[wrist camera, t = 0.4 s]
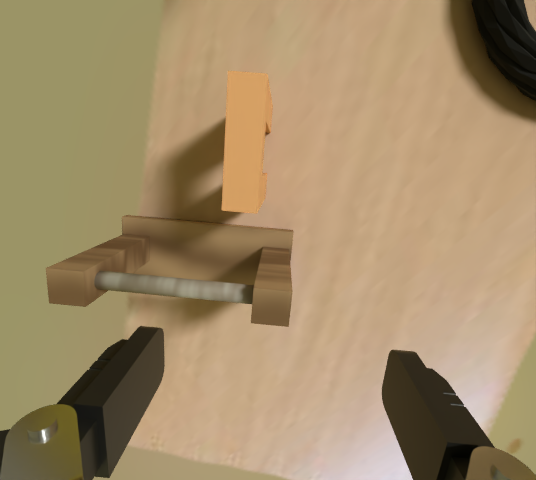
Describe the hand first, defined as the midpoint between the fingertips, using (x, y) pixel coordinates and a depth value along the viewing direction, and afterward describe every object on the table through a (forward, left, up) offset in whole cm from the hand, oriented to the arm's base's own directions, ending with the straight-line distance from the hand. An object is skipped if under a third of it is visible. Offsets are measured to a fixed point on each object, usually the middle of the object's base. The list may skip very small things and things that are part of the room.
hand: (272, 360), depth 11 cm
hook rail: (+4, -8, -26) cm, 28 cm away
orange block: (-8, -3, -26) cm, 27 cm away
